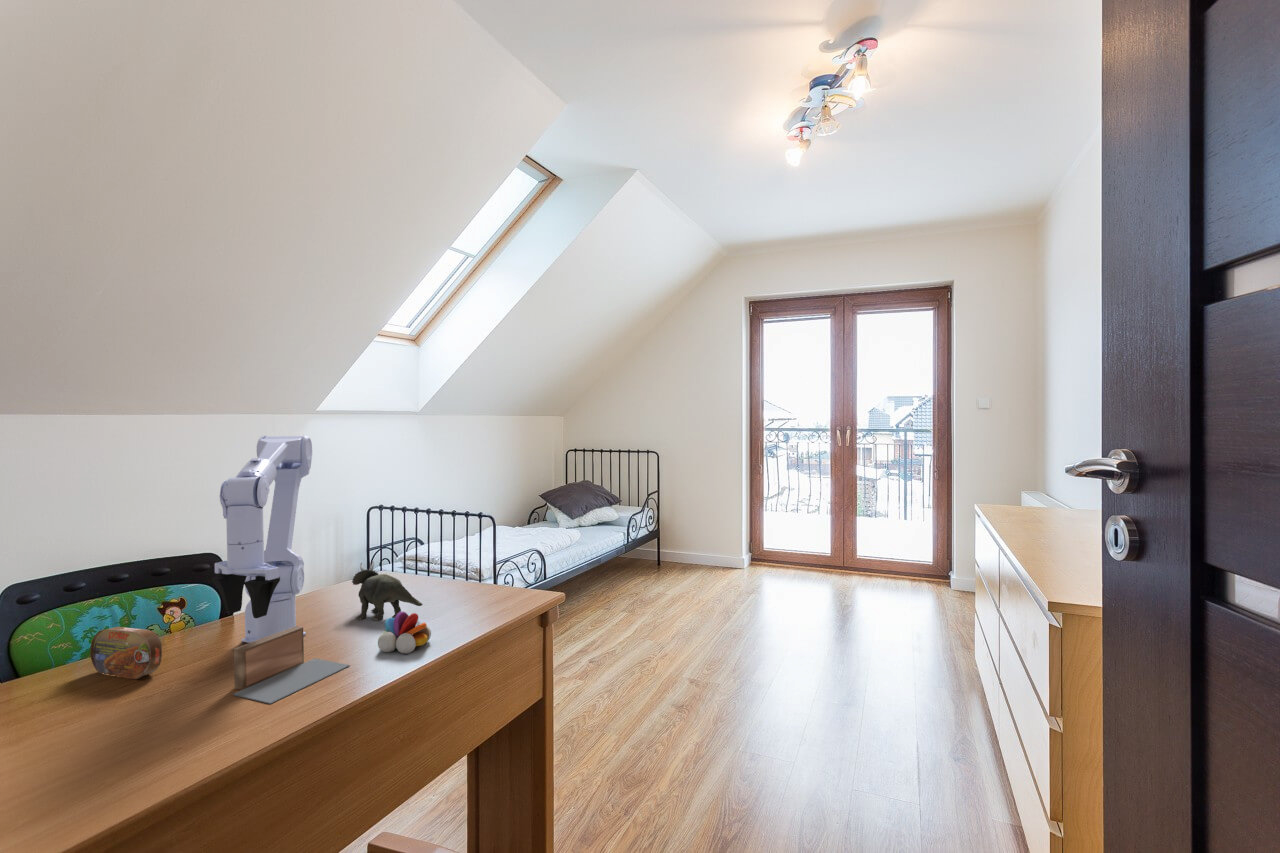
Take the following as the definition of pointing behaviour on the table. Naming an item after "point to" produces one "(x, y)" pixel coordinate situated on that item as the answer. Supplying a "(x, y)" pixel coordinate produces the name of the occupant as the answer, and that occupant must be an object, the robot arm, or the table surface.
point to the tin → (126, 652)
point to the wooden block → (268, 657)
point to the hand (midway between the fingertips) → (247, 614)
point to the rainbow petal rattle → (403, 633)
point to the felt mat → (291, 681)
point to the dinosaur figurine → (380, 592)
